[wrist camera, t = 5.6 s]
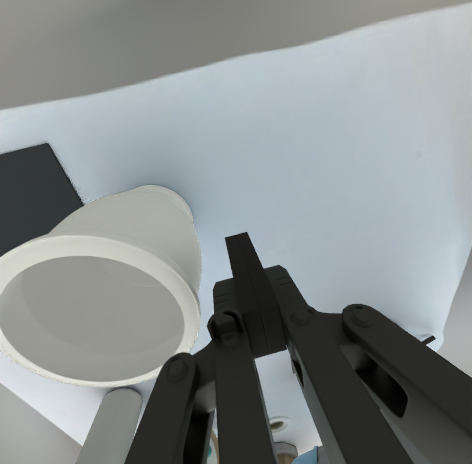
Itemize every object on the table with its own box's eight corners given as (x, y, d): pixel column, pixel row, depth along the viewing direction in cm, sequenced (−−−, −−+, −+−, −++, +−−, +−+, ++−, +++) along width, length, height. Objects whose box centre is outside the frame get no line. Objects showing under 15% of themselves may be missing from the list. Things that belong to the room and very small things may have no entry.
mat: (48, 143, 20) (46, 143, 20) (137, 299, 29) (137, 301, 28) (-172, 196, 19) (-177, 197, 19) (-11, 340, 28) (-13, 341, 28)
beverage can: (140, 409, 38) (113, 516, 27) (102, 407, 37) (57, 520, 26) (146, 386, 36) (119, 493, 25) (105, 383, 35) (57, 495, 24)
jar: (89, 185, 22) (-94, 267, 8) (188, 165, 22) (167, 213, 9) (129, 268, 26) (53, 408, 13) (210, 250, 27) (218, 366, 14)
